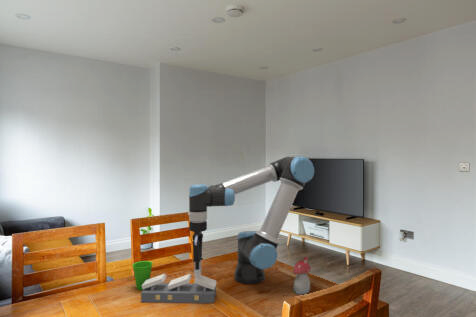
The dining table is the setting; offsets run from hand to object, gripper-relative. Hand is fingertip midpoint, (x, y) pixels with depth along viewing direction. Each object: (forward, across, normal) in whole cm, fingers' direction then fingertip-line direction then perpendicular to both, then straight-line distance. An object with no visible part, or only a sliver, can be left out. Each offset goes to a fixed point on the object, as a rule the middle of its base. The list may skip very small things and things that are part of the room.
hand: (197, 276), depth 134 cm
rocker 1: (+3, 0, -19) cm, 19 cm away
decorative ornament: (+9, -7, +45) cm, 47 cm away
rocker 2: (+2, 0, -8) cm, 8 cm away
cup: (+10, -9, -27) cm, 30 cm away
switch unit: (+9, 0, -8) cm, 12 cm away
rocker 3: (+2, 0, +3) cm, 4 cm away
